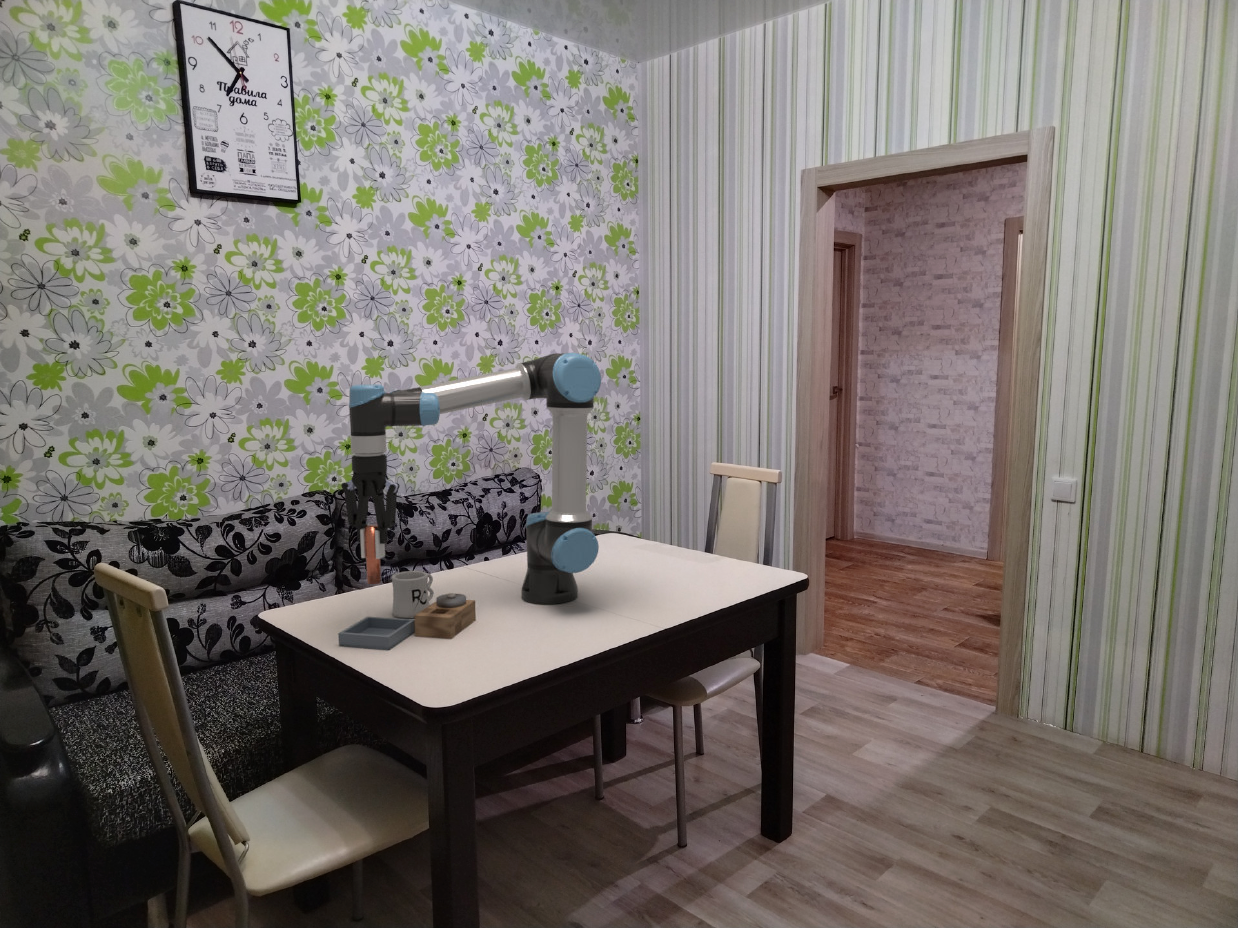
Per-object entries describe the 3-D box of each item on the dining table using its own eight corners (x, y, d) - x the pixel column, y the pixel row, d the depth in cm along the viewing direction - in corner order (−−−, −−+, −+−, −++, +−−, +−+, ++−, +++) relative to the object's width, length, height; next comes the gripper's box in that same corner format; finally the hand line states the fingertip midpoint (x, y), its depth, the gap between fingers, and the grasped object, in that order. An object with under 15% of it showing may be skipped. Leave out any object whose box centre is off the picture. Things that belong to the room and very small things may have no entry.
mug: (410, 621, 202) (409, 581, 201) (384, 615, 207) (383, 576, 206) (446, 608, 213) (445, 570, 211) (421, 603, 217) (419, 566, 216)
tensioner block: (475, 620, 203) (474, 591, 202) (451, 638, 189) (450, 607, 188) (441, 617, 205) (440, 589, 204) (415, 636, 192) (413, 605, 191)
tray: (415, 631, 194) (415, 619, 194) (389, 650, 182) (388, 637, 182) (368, 628, 197) (367, 616, 197) (338, 646, 185) (338, 633, 185)
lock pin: (383, 580, 189) (381, 525, 187) (376, 584, 186) (374, 527, 185) (371, 580, 190) (369, 524, 188) (364, 583, 187) (362, 527, 185)
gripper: (409, 453, 186) (413, 555, 189) (346, 451, 190) (350, 551, 193) (393, 456, 179) (397, 562, 182) (327, 455, 183) (332, 559, 186)
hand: (373, 556), depth 187 cm, fingers closed on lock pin, 3 cm apart
